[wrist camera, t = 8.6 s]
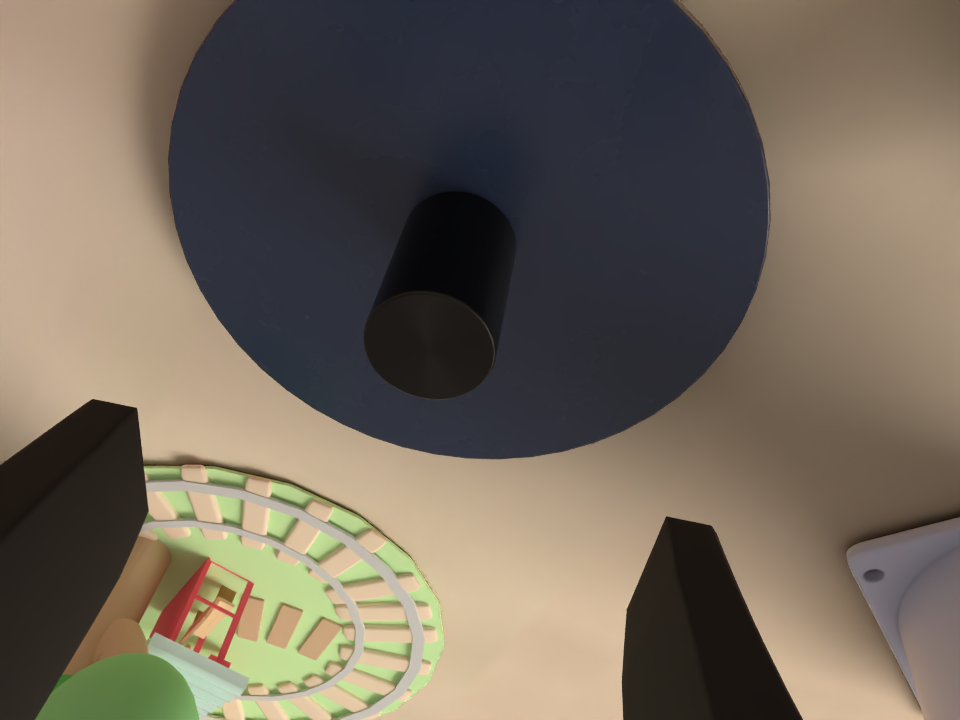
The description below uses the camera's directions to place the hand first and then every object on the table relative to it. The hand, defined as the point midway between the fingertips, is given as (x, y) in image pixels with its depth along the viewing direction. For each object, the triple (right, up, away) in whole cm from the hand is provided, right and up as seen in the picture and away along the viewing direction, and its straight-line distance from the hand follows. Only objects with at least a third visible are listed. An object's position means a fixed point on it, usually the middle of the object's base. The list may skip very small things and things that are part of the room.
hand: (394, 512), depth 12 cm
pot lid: (+1, +5, +7) cm, 9 cm away
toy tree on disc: (-7, -6, +18) cm, 20 cm away
